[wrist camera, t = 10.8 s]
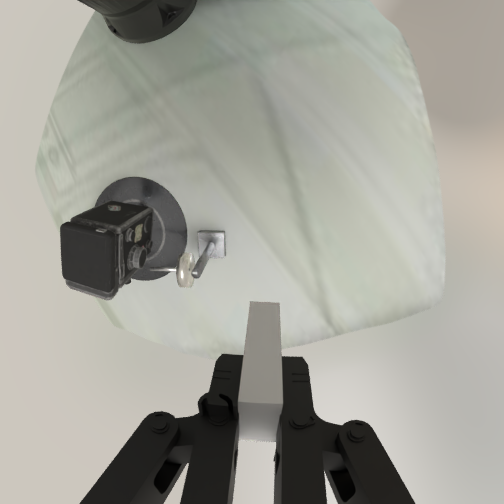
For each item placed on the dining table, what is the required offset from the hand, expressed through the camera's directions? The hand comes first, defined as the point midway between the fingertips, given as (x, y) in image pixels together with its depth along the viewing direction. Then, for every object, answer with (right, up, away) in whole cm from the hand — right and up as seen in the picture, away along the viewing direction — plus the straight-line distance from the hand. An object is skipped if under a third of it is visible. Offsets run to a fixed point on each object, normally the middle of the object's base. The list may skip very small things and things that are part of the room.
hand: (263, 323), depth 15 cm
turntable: (-20, +7, +30) cm, 36 cm away
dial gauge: (-9, +5, +30) cm, 32 cm away
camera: (-20, +7, +30) cm, 37 cm away
